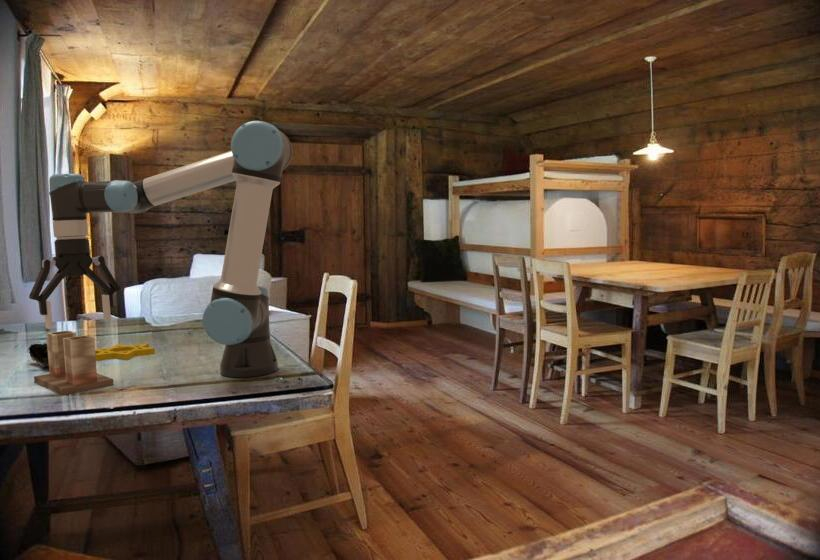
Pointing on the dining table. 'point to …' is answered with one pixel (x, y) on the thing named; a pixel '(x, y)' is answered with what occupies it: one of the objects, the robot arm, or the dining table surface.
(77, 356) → the sleeve
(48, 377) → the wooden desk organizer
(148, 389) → the dining table surface
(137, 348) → the star of david
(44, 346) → the rock
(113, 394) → the dining table surface
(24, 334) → the dining table surface
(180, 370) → the dining table surface
